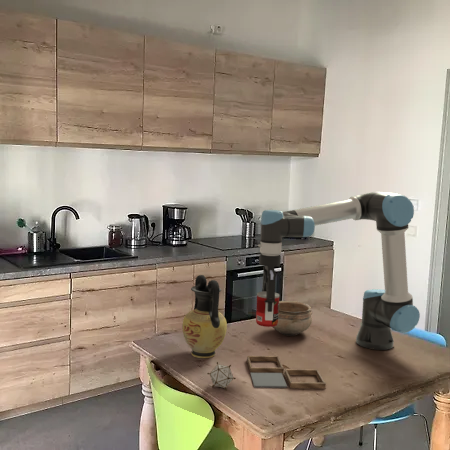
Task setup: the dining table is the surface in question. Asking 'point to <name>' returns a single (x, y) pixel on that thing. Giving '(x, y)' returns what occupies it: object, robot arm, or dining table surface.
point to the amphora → (204, 320)
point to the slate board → (268, 380)
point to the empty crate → (304, 384)
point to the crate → (265, 370)
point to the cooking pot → (293, 318)
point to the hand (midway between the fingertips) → (267, 316)
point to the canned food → (261, 310)
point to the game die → (221, 376)
